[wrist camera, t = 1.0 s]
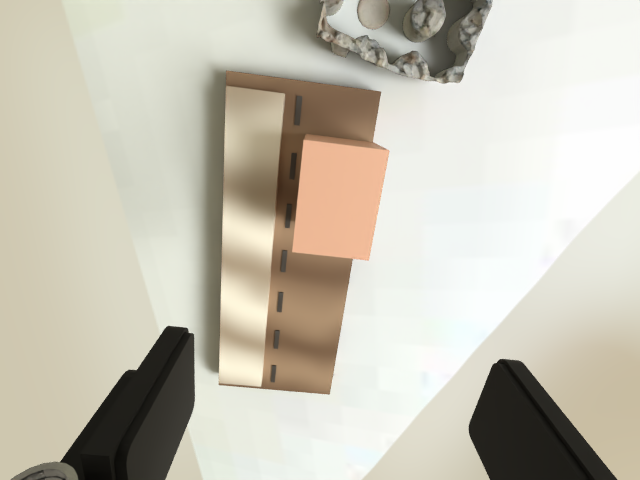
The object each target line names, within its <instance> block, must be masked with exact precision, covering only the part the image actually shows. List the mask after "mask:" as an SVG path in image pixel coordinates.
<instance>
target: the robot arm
mask: <svg viewBox="0 0 640 480" xmlns="http://www.w3.org/2000/svg"><path fill="white" fill-rule="evenodd" d="M194 401H195V384H194V334H193V333H189V332H188V328H183V327H173V326H167V327H166V328H165V329H164V331H163V332H162V334H161V335H160V337H159V339H158V340H157V341H156V343H155V344H154V346H153V347H152V349H151V350H150V352H149V353H148V355H147V356H146V357H145V359H144V360H143V362H142V363H141V365H140V367H139V368H138V369H137V370H128V371H126V372H125V373H124V374H123V375H122V377H121V378H120V379H119V381H118V382H117V384H116V385H115V386H114V388H113V389H112V390H111V392H110V393H109V395H108V396H107V397H106V399H105V400H104V402H103V403H102V404H101V406H100V407H99V409H98V410H97V411H96V413H95V414H94V415H93V417H92V418H91V420H90V421H89V422H88V424H87V425H86V427H85V428H84V429H83V431H82V432H81V434H80V435H79V436H78V438H77V439H76V440H75V442H74V443H73V445H72V446H71V447H70V449H69V450H68V452H67V453H66V454H65V456H64V457H63V459H62V460H61V461H60V462H51V463H43V464H40V465H37V466H34V467H31V468H29V469H27V470H25V471H24V472H22V473H20V474H18V475H16V476H15V477H14V478H12V479H11V480H165V479H166V476H167V473H168V471H169V469H170V466H171V464H172V461H173V459H174V456H175V454H176V451H177V449H178V446H179V444H180V441H181V439H182V436H183V434H184V431H185V429H186V427H187V424H188V422H189V419H190V417H191V414H192V411H193V408H194ZM469 434H470V437H471V440H472V442H473V444H474V446H475V448H476V450H477V452H478V455H479V456H480V459H481V461H482V463H483V465H484V467H485V469H486V472H487V474H488V476H489V478H490V480H617V479H616V477H615V476H614V475H613V474H612V473H611V471H610V470H609V469H608V468H607V466H606V465H605V464H604V463H603V461H602V460H601V459H600V458H599V456H598V455H597V454H596V453H595V451H594V450H593V449H592V448H591V447H590V445H589V444H588V443H587V442H586V440H585V439H584V438H583V437H582V435H581V434H580V433H579V432H578V431H577V429H576V428H575V427H574V426H573V424H572V423H571V422H570V421H569V419H568V418H567V417H566V416H565V414H564V413H563V412H562V411H561V409H560V408H559V407H558V406H557V404H556V403H555V402H554V401H553V399H552V398H551V397H550V396H549V395H548V393H547V392H546V391H545V390H544V388H543V387H542V386H541V385H540V383H539V382H538V381H537V380H536V378H535V377H534V376H533V375H532V373H531V372H530V371H529V370H528V369H527V367H526V366H525V365H524V364H523V363H522V362H521V361H517V360H507V359H500V360H499V361H498V362H497V363H495V364H493V366H492V368H491V370H490V373H489V375H488V378H487V380H486V383H485V385H484V388H483V390H482V393H481V395H480V398H479V400H478V403H477V406H476V408H475V411H474V413H473V416H472V418H471V421H470V424H469Z"/></svg>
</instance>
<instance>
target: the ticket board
mask: <svg viewBox="0 0 640 480" xmlns="http://www.w3.org/2000/svg"><path fill="white" fill-rule="evenodd" d="M380 96H381V92H380V91H373V90H365V89H358V88H351V87H343V86H336V85H328V84H321V83H314V82H306V81H299V80H292V79H284V78H277V77H270V76H262V75H255V74H247V73H240V72H233V71H226V100H225V142H224V184H223V225H222V267H221V309H220V351H219V385H226V386H237V387H249V388H260V389H272V390H284V391H295V392H307V393H319V394H330V389H331V383H332V378H333V372H334V366H335V360H336V354H337V348H338V342H339V336H340V331H341V325H342V319H343V313H344V307H345V301H346V295H347V289H348V284H349V278H350V272H351V266H352V260H353V259H351V258H342V257H333V256H323V255H314V254H305V253H296V252H292V249H293V239H294V229H295V219H296V209H297V200H298V190H299V180H300V170H301V160H302V150H303V141H304V138H305V135H306V134H312V135H320V136H328V137H335V138H343V139H351V140H359V141H367V142H373V137H374V131H375V125H376V119H377V113H378V107H379V101H380Z"/></svg>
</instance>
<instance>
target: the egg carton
mask: <svg viewBox="0 0 640 480" xmlns="http://www.w3.org/2000/svg"><path fill="white" fill-rule="evenodd" d="M470 1H472V2H473V8H472V10H471V11H470V12H469V13H468V14H467V15H465V16H464V17H462V18H461V19H459V20H458V21H456V22H455V23H454V24H453V25H452V26H451V28H450V29H449V31H448V33H447V45H448V48H449V49H450V51H451V52H453V53H454V54H455V55H456V59H455V62H454V65H453V67H451V68H448V69H445V70H443V71H441V72H439V73H438V74H437V75H435V77H434V78H433V77H431V76H429V74H430V72H429V71H428V66H427V62H426V61H425V60H424V59H423V57H422V56H421V55H419V53H418V51H411V52H410V53H407V54H405V55H403V56H401V57H400V58H398V59H397V60H396V61H395V62H394V63H393V64H392V65H391V64H389V63H388V60H387V56H386V52H385V50H384V49H383V48H380V47H379V44H378V43H377V42H376V40H370V39H369V38H368V36H367V35H364V36H361V37H358V38H356V39H354V38H352V37H350V36H348V35H346V34H344V33H341V32H339V31H336V30H335V29H333V28H332V27H331V26H330V25H329V24H328V23H327V19H326V16H331V15H334V14H336V13H337V12H338V11H339V10H340V8H341V6H342V4H343V0H320V3H323V7H322V12H321V17H320V20H319V25H318V30H317V35H316V36H317V38H318V37H320V38H322V39H324V40H326V41H327V42H330V43H331V46H332V52H333V53H334V54H336V55H339V56H342V57H345V58H346V55H347V54H348V52H349V51H350V50H351V51H353V52H355V53H357V54H360V55H361V58H363V59H365V60H367V61H370V62H373V63H376V66H377V67H383V68H386V69H388V70H390V71H392V72H395V73H397V74H400V75H403V76H407V77H412V78H417V79H422V80H425V81H437V82H439V83H443V84H444V83H448V82H456V83H459V82H460V81H461V80H462V77H463V75H464V73H463V72H464V69H465V67H466V64H467V62H468V60H469V58H470V56H471V55H472V53H473V51H474V49H475V45H476V42H477V39H478V37H479V35H480V33H481V31H482V29H483V26H484V23H485V20H486V18H487V16H488V14H489V11H490V9H491V7H492V1H493V0H470ZM389 10H390V9H389V3H388V1H387V0H360V2H359V5H358V10H357V13H358V18H359V21H360V22H361V24H362V25H363V26H364V27H366V28H368V29H377V28H380V27H381V26H382V25H384V24H385V22H386V21H387V19H388V17H389ZM445 18H446V12H445V7H444V2H443V1H442V0H417V1H416V3H415V4H414V5H413V6H412V7H411V8H410V9H409V10H408V12H407V13H406V15H405V17H404V20H403V31H404V34H405V36H406V37H407V38H408V39H409V40H410V41H412V42H423V41H425V40H427V39H428V38H430V37H431V36H433V35H434V37H435V34H436V33H437V32H438V31H439V30H440V28H441V27H442V25H443V23H444V20H445Z"/></svg>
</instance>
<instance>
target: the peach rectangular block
mask: <svg viewBox="0 0 640 480" xmlns="http://www.w3.org/2000/svg"><path fill="white" fill-rule="evenodd" d="M388 155H389V150H387V149H385V148H383V147H381V146H379V145H377V144H375V143H373V142H367V141H359V140H351V139H343V138H335V137H328V136H320V135H312V134H306V135H305V138H304V141H303V150H302V160H301V170H300V180H299V190H298V200H297V209H296V219H295V229H294V239H293V249H292V252H296V253H305V254H314V255H323V256H333V257H342V258H351V259H360V260H369V256H370V251H371V246H372V240H373V235H374V230H375V224H376V219H377V214H378V209H379V203H380V198H381V193H382V187H383V182H384V177H385V171H386V166H387V161H388Z"/></svg>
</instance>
